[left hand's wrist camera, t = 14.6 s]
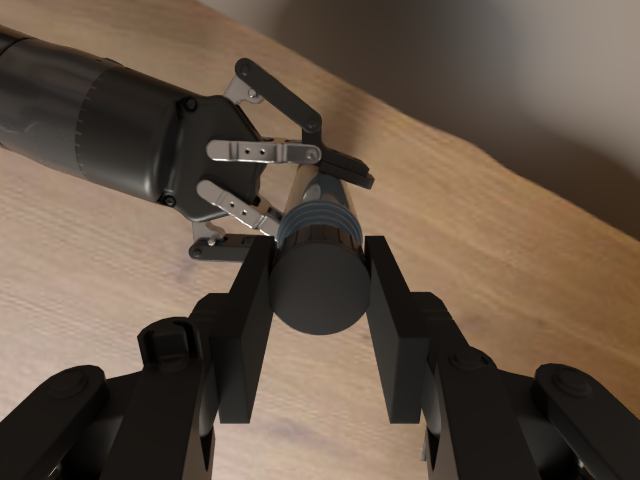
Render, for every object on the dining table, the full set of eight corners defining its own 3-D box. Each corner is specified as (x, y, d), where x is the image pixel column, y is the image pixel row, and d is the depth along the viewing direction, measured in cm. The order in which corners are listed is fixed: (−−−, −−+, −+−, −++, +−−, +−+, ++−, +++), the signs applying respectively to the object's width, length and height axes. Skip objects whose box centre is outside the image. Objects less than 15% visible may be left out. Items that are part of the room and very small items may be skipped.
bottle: (339, 151, 29) (366, 220, 12) (348, 199, 31) (383, 321, 14) (290, 162, 30) (249, 244, 12) (301, 209, 31) (278, 340, 14)
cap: (254, 249, 14) (244, 271, 12) (340, 205, 14) (343, 222, 12) (301, 321, 15) (298, 351, 14) (382, 284, 15) (391, 310, 13)
